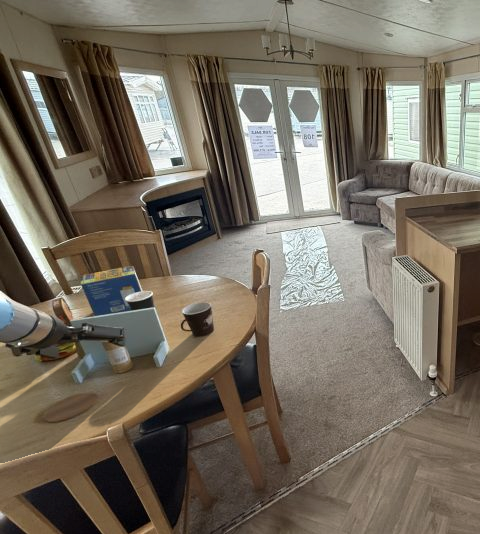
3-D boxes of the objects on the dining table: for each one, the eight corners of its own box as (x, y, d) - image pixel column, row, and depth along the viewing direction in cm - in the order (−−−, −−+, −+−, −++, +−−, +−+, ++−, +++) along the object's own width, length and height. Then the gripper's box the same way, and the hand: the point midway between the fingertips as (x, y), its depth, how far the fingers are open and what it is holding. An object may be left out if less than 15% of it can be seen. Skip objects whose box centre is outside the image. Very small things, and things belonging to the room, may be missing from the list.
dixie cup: (149, 314, 132) (140, 289, 128) (166, 317, 131) (158, 292, 127) (129, 325, 125) (118, 299, 121) (146, 328, 124) (136, 302, 119)
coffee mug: (209, 322, 128) (202, 299, 124) (222, 329, 124) (216, 306, 120) (175, 338, 119) (166, 313, 115) (188, 345, 115) (180, 320, 111)
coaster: (37, 413, 88) (36, 412, 87) (87, 388, 96) (86, 387, 96) (54, 428, 84) (53, 427, 83) (105, 401, 92) (104, 400, 92)
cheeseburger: (28, 358, 107) (25, 328, 105) (74, 347, 117) (72, 319, 115) (42, 367, 103) (39, 336, 101) (89, 355, 113) (87, 326, 111)
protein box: (96, 310, 134) (80, 275, 128) (145, 298, 144) (133, 265, 138) (95, 321, 127) (79, 284, 121) (147, 308, 137) (135, 273, 131)
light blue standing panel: (76, 384, 97) (52, 338, 91) (92, 363, 106) (71, 319, 99) (161, 366, 105) (144, 323, 99) (169, 348, 113) (154, 307, 107)
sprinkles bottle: (134, 362, 107) (120, 326, 101) (132, 370, 103) (116, 334, 98) (115, 367, 104) (99, 330, 99) (112, 376, 101) (95, 338, 95)
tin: (74, 327, 123) (64, 307, 120) (61, 331, 121) (51, 310, 118) (72, 312, 133) (63, 293, 129) (60, 315, 130) (51, 296, 127)
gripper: (-60, 361, 65) (24, 373, 84) (105, 333, 75) (149, 350, 93) (-53, 324, 68) (28, 344, 86) (107, 301, 77) (149, 324, 95)
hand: (91, 347), depth 90 cm, fingers open, 13 cm apart
